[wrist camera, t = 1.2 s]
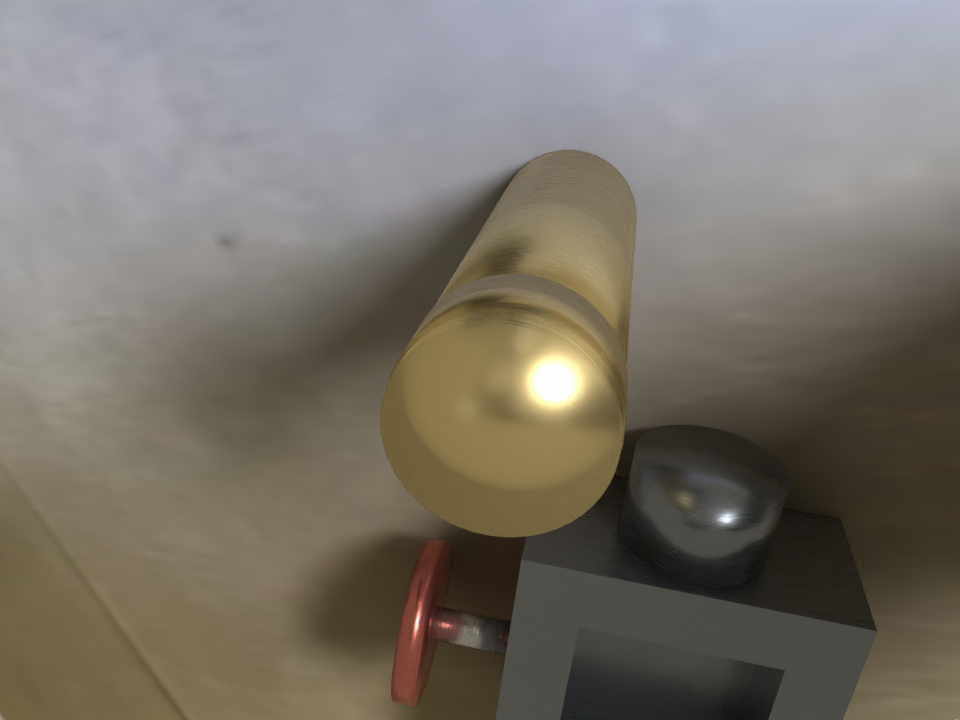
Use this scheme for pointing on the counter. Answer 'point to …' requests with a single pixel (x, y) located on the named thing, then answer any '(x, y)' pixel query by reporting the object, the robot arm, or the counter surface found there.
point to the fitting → (523, 358)
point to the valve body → (665, 600)
